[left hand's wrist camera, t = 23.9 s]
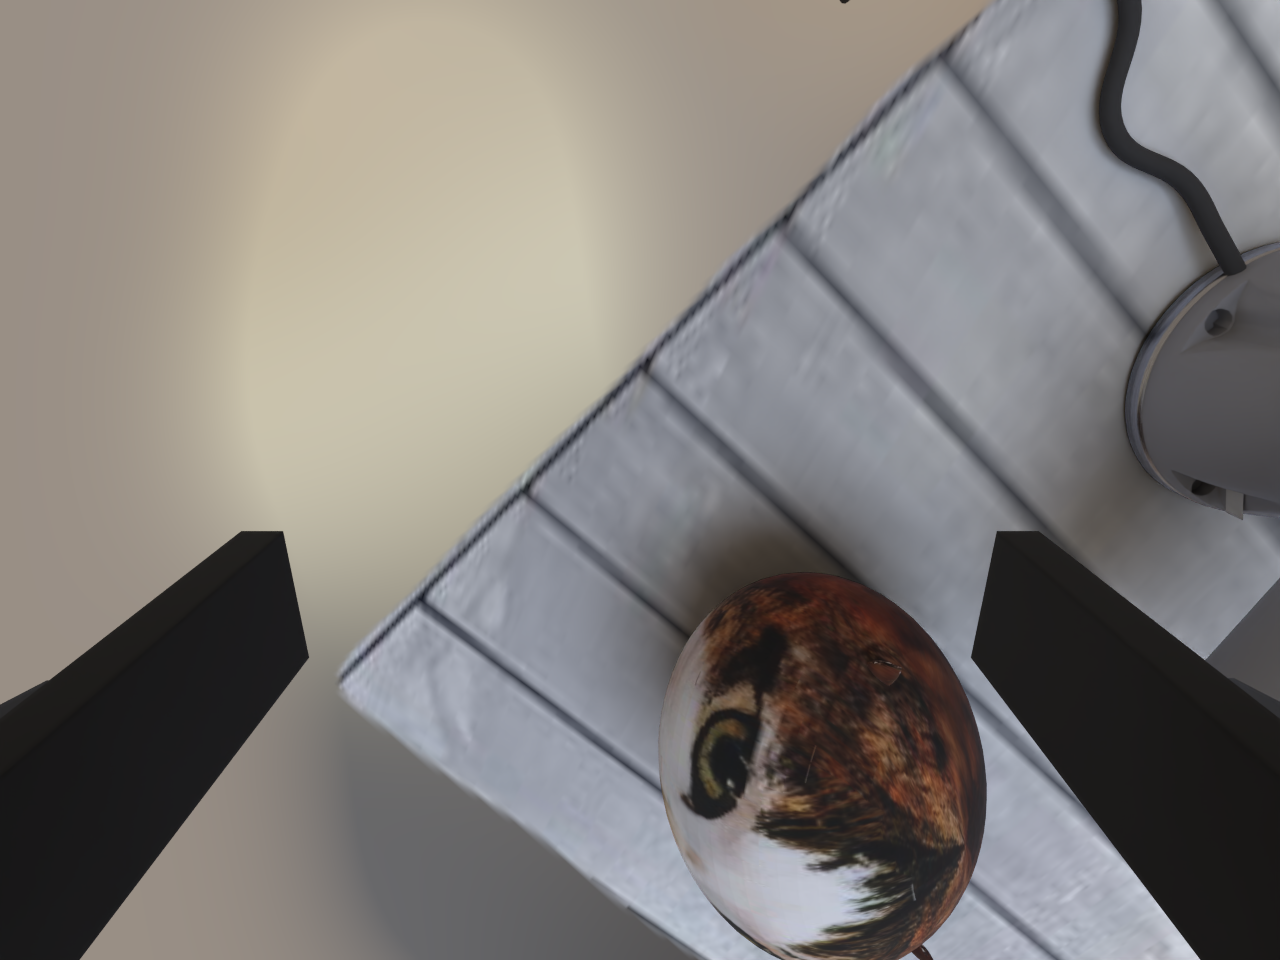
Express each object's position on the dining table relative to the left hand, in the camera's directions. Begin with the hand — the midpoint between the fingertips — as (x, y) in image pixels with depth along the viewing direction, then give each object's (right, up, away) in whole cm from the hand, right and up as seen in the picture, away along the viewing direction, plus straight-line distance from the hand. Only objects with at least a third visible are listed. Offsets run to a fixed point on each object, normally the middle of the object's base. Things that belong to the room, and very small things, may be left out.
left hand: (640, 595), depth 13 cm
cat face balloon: (+10, -11, +34) cm, 37 cm away
